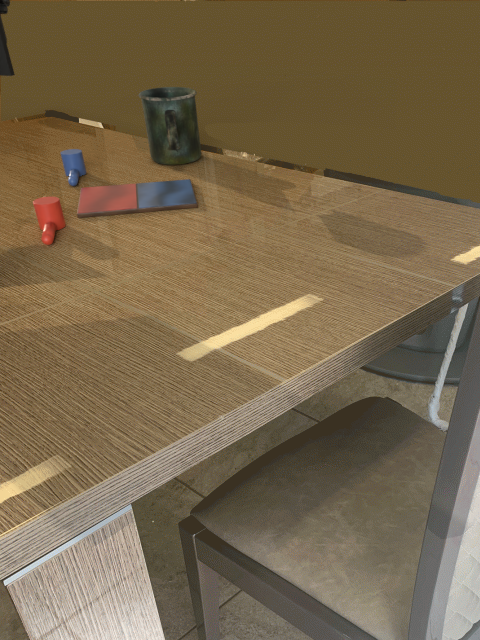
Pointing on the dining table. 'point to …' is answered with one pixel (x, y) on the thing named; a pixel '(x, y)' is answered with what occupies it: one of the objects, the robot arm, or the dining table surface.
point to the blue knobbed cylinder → (73, 165)
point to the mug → (171, 124)
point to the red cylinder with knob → (49, 217)
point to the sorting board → (136, 198)
